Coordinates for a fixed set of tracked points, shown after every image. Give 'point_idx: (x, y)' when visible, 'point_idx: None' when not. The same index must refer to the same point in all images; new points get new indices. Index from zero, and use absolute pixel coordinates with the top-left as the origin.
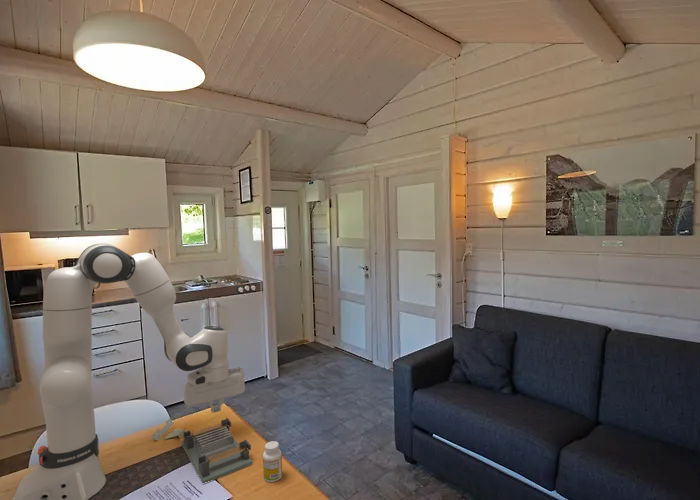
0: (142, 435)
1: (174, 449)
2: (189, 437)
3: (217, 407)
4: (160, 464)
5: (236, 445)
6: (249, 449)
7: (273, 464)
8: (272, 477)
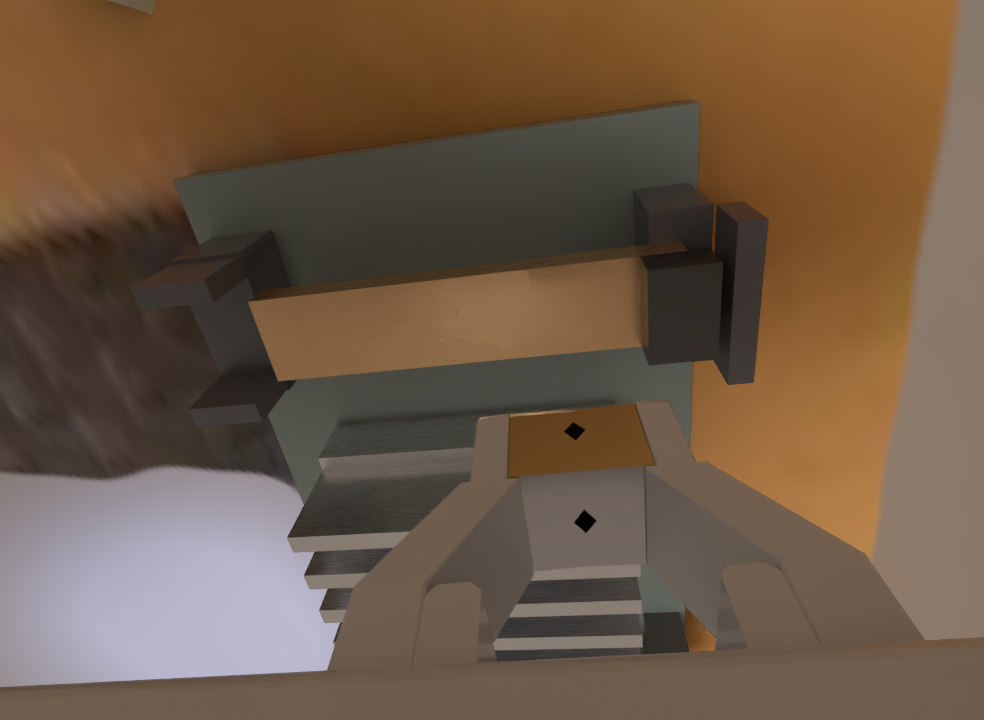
0: None
1: (139, 231)
2: (229, 420)
3: (607, 557)
4: (85, 399)
5: None
6: None
7: None
8: None
